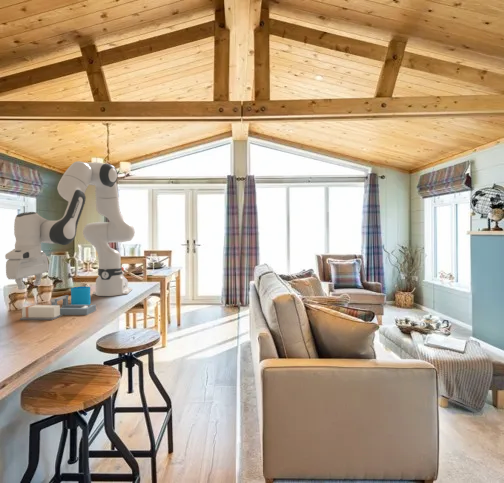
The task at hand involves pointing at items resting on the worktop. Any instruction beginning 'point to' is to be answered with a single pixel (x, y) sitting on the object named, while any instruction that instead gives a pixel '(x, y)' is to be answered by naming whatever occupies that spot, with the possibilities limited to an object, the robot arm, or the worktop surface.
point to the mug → (80, 295)
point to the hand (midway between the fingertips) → (29, 286)
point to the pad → (38, 318)
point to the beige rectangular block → (41, 311)
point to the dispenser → (73, 307)
